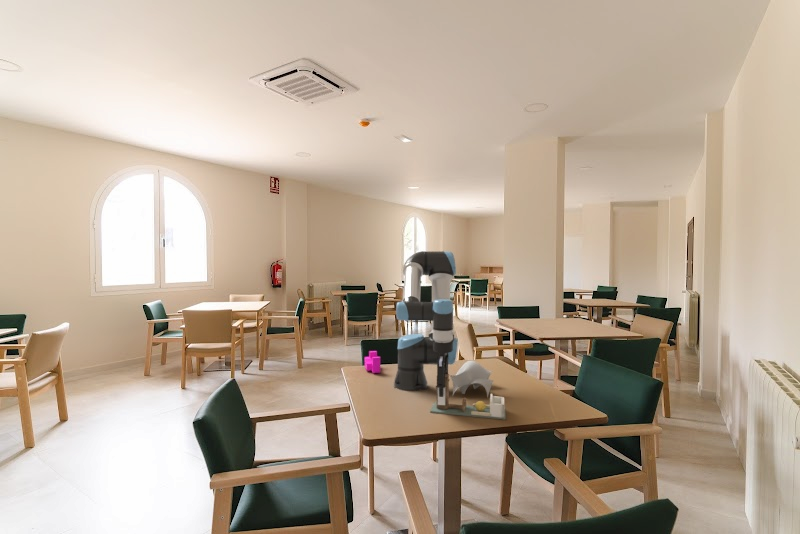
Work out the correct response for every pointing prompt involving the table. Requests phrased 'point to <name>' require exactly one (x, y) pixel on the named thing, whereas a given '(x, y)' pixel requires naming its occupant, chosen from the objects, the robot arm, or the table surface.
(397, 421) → the table surface
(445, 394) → the tan l-shaped block
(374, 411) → the table surface
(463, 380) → the sculpture
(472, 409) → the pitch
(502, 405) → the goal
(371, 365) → the toy block
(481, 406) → the ball
